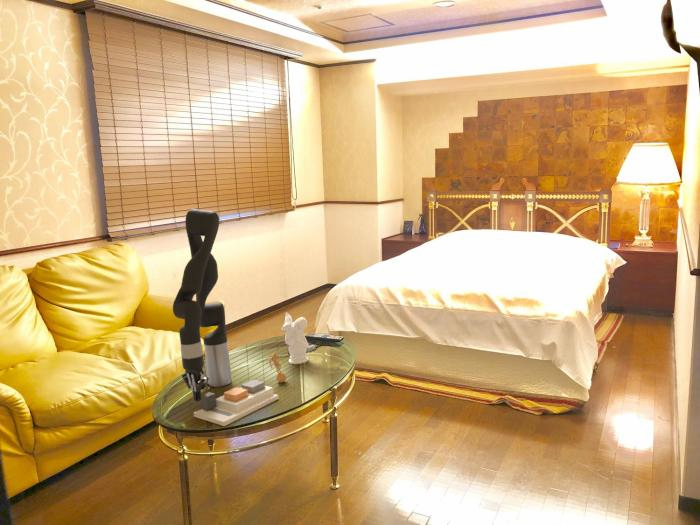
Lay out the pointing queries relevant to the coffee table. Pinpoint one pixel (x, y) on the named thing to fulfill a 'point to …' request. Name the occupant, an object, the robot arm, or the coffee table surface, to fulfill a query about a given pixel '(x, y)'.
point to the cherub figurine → (296, 339)
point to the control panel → (236, 407)
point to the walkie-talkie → (308, 348)
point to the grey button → (253, 386)
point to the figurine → (278, 368)
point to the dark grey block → (208, 401)
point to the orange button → (235, 394)
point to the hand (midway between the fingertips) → (197, 400)
